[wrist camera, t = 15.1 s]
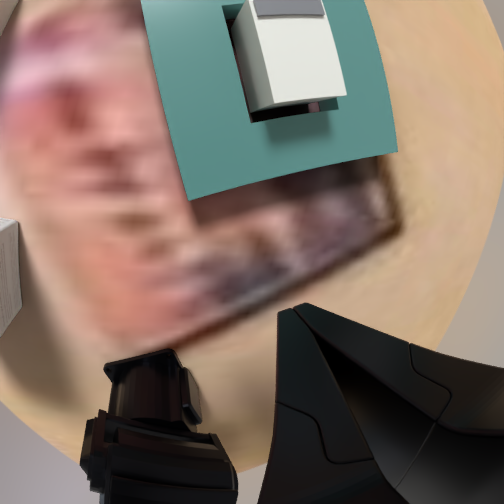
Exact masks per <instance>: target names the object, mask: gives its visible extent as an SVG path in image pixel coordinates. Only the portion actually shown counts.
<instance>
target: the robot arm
mask: <svg viewBox="0 0 504 504" xmlns="http://www.w3.org/2000/svg"><path fill="white" fill-rule="evenodd" d="M167 354H170V356H168V355H167ZM108 368H109V369H108ZM110 369H111V370H110ZM103 370H104V372H105V374H106V375H107V376H108V378H109V379H110V380H111V382H112V388H111V394H110V401H109V408H108V413H106V411H104V410H101V409H99V412H98V417H95V418H94V419H90V420H87V423H86V429H85V435H84V441H83V446H82V452H81V458H80V466H81V468H82V469H83V470H84V471H85V473H86V474H87V480H89V481H90V491H93V492H97V493H100V501H99V503H100V504H236V501H237V497H238V478H237V474H236V471H235V468H234V466H233V465H232V463H231V461H230V459H229V457H228V455H227V454H226V452H225V450H224V448H223V446H222V444H221V442H220V440H219V438H218V436H217V434H212V433H209V434H204V433H197V427H196V425H197V424H201V422H202V415H201V408H200V402H199V395H198V388H197V385H196V383H195V382H194V380H193V378H192V376H191V374H190V372H189V370H188V369H187V368H185V367H184V368H183V367H182V365H181V363H180V361H179V359H178V357H177V355H176V353H175V352H174V350H172V349H163V350H160V351H156V352H152V353H148V354H144V355H140V356H136V357H132V358H127V359H123V360H119V361H114V362H110V363H106V364H105V365H104V369H103ZM275 403H276V404H275V415H274V427H273V437H272V443H271V448H270V454H269V459H268V463H267V467H266V471H265V475H264V480H263V483H262V488H261V491H260V495H259V499H258V503H257V504H504V368H500V367H496V366H491V365H486V364H482V363H477V362H473V361H469V360H464V359H460V358H456V357H452V356H449V355H445V354H441V353H439V352H436V351H433V350H430V349H427V348H424V347H421V346H418V345H415V344H413V343H410V344H409V342H407V341H404V340H402V339H399V338H396V337H394V336H391V335H388V334H386V333H383V332H381V331H378V330H375V329H373V328H370V327H368V326H365V325H362V324H360V323H357V322H355V321H352V320H350V319H347V318H344V317H342V316H339V315H337V314H334V313H332V312H329V311H327V310H324V309H322V308H319V307H317V306H314V305H312V304H309V303H303V304H300V305H297V306H294V307H293V309H292V308H288V309H285V310H282V311H279V312H278V314H277V358H276V392H275Z"/></svg>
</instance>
